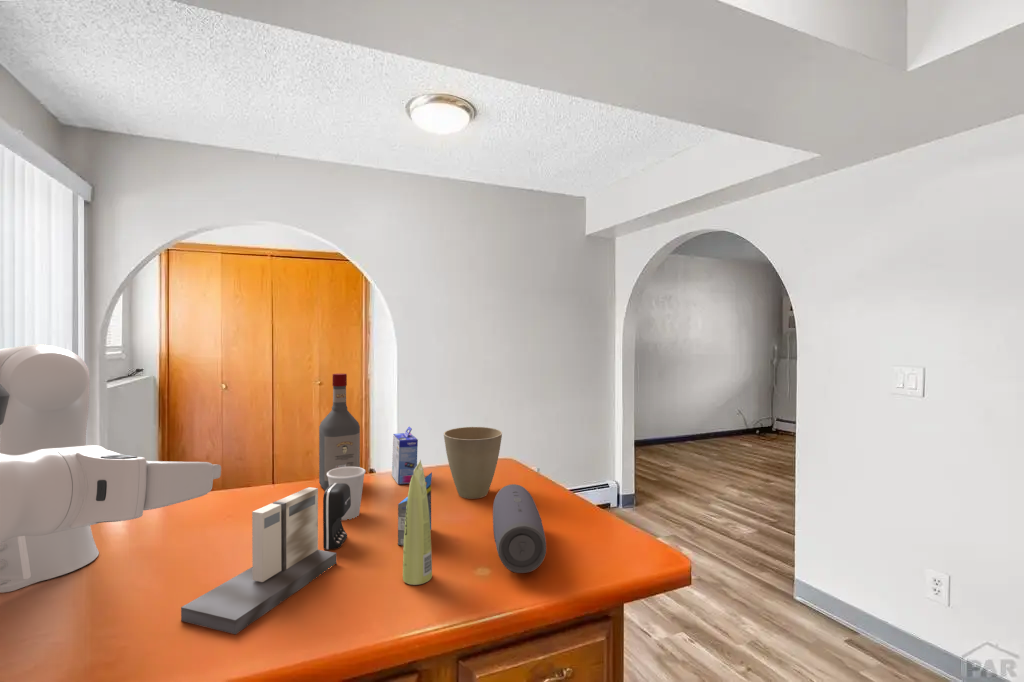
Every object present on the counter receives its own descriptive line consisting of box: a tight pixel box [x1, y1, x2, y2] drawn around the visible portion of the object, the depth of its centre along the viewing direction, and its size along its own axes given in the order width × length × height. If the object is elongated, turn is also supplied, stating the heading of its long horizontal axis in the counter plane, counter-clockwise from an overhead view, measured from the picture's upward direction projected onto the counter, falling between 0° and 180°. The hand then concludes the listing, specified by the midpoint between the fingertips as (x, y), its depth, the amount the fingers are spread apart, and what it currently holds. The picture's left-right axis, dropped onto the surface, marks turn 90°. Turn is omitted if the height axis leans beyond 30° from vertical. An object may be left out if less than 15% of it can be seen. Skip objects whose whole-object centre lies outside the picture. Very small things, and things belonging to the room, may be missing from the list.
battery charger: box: [322, 483, 351, 551], centre depth 99 cm, size 7×4×11 cm, turn 3°
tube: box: [402, 459, 433, 586], centre depth 86 cm, size 6×5×20 cm
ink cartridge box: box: [391, 426, 419, 485], centre depth 141 cm, size 10×6×14 cm, turn 23°
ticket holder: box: [180, 486, 337, 635], centre depth 82 cm, size 22×10×13 cm, turn 162°
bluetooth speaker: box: [492, 483, 547, 574], centre depth 97 cm, size 23×9×10 cm, turn 4°
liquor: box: [318, 373, 361, 492], centre depth 134 cm, size 9×9×30 cm
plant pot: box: [443, 426, 503, 500], centre depth 129 cm, size 15×15×16 cm
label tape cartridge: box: [397, 471, 433, 547], centre depth 102 cm, size 9×4×12 cm, turn 168°
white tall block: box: [251, 502, 281, 582], centre depth 82 cm, size 4×2×11 cm, turn 162°
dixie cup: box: [327, 467, 366, 521], centre depth 114 cm, size 8×8×10 cm
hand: (190, 469), depth 69 cm, fingers open, 8 cm apart
